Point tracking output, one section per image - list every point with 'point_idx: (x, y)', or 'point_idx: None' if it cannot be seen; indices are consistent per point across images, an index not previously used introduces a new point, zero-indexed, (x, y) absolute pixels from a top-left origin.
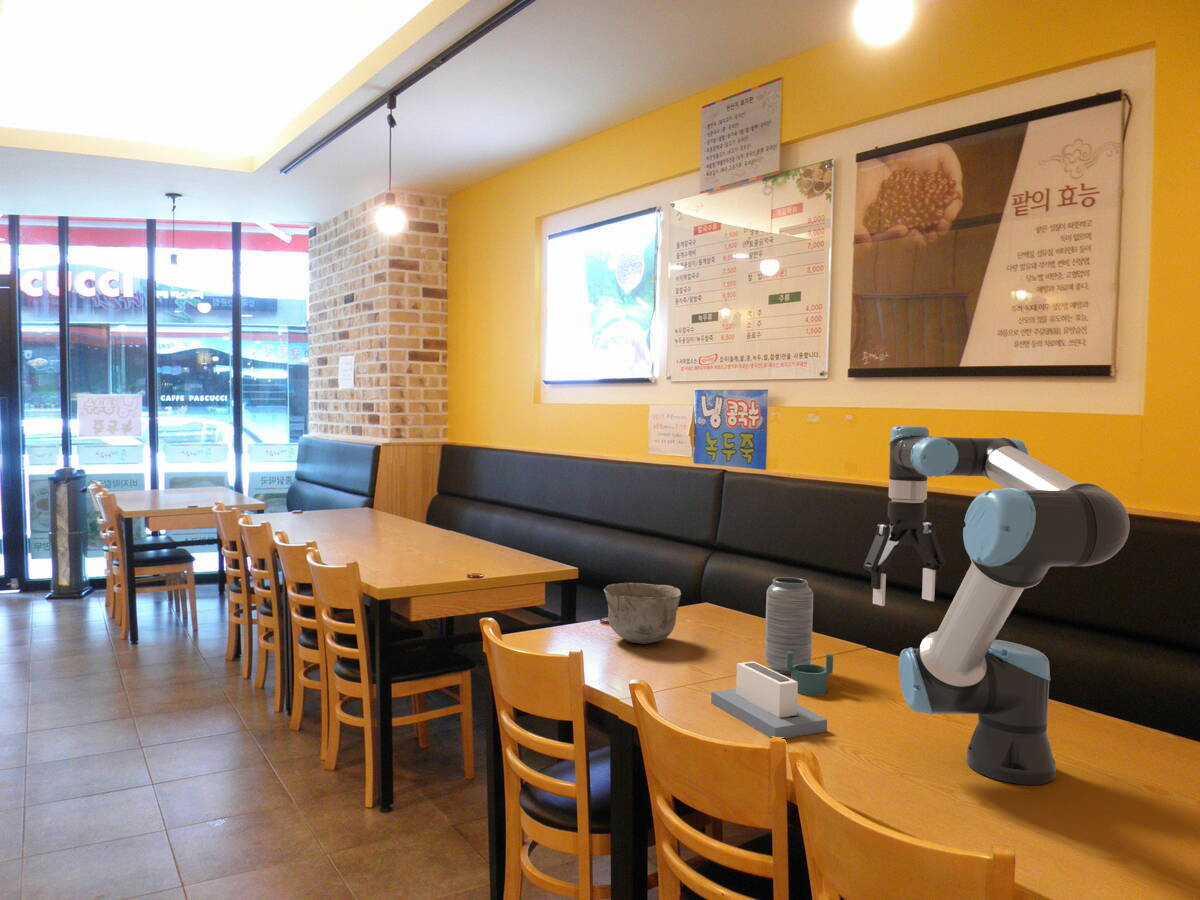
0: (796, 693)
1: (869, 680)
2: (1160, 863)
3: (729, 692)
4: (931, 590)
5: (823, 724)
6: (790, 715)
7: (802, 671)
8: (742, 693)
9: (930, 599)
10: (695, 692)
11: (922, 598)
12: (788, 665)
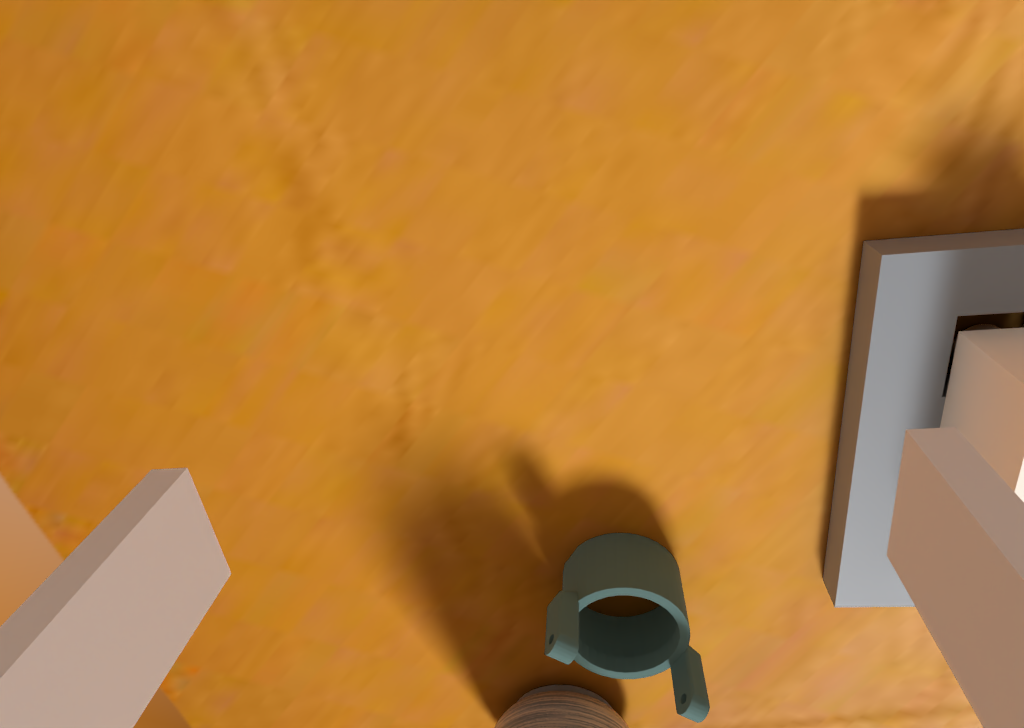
0: (1013, 372)
1: (368, 587)
2: None
3: None
4: (119, 555)
5: (893, 248)
6: (993, 330)
7: (612, 652)
8: None
9: (184, 491)
10: None
11: (226, 570)
12: (699, 665)
